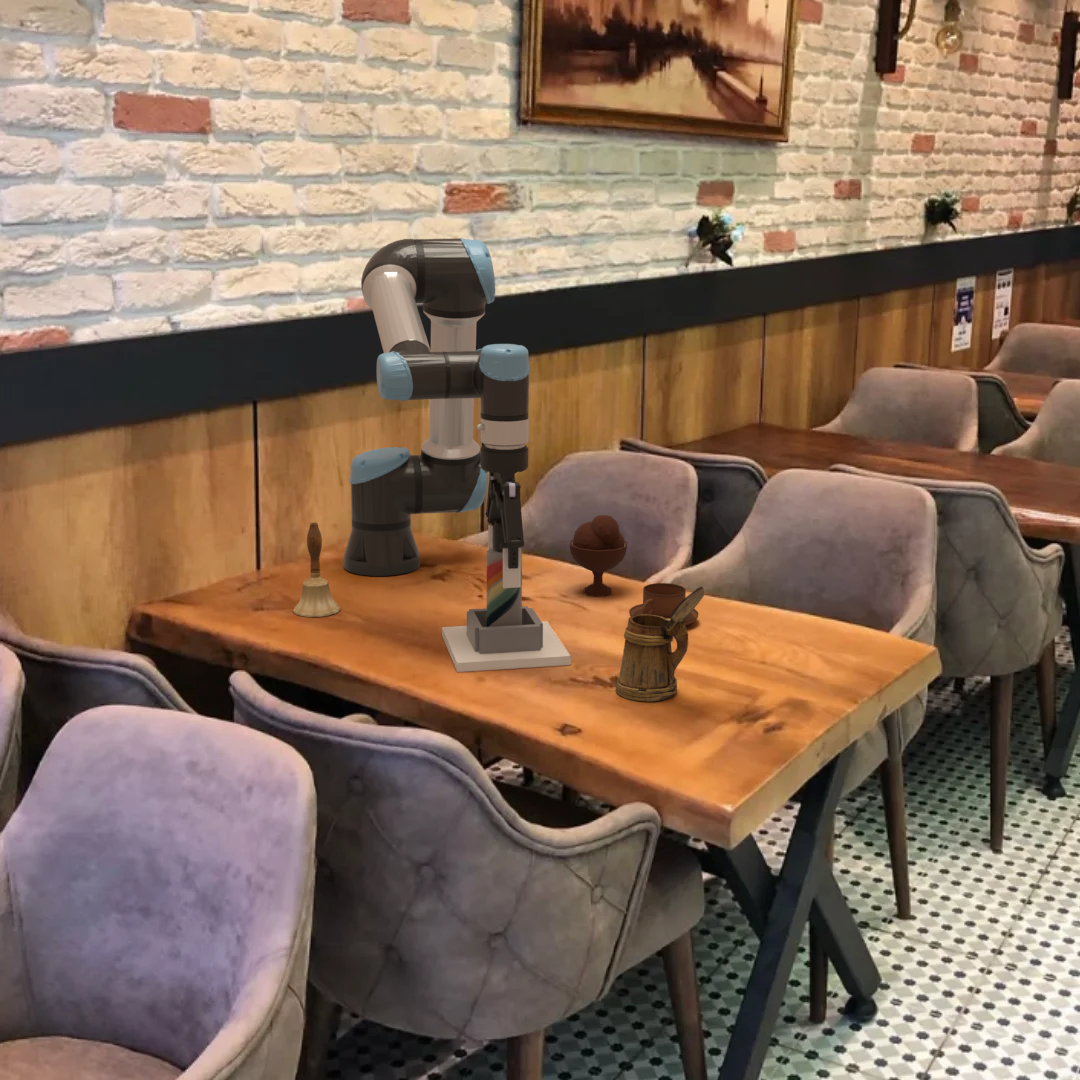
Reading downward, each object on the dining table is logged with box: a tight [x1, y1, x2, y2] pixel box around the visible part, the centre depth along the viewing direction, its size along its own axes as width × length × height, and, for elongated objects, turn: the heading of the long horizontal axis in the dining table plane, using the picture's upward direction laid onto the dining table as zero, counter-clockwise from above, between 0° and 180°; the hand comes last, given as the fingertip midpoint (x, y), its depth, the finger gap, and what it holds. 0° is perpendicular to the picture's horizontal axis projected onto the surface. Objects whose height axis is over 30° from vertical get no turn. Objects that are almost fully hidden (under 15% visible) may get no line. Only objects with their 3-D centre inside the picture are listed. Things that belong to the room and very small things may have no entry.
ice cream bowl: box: [569, 514, 629, 597], centre depth 245 cm, size 11×11×15 cm
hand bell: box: [293, 522, 341, 618], centre depth 232 cm, size 8×8×16 cm
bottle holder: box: [441, 605, 572, 673], centre depth 214 cm, size 18×18×6 cm
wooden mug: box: [614, 586, 705, 703], centre depth 193 cm, size 9×14×18 cm, turn 52°
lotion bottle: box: [486, 520, 523, 627], centre depth 212 cm, size 6×6×20 cm
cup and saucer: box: [628, 582, 699, 627], centre depth 229 cm, size 12×12×6 cm
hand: (504, 575), depth 211 cm, fingers open, 13 cm apart
